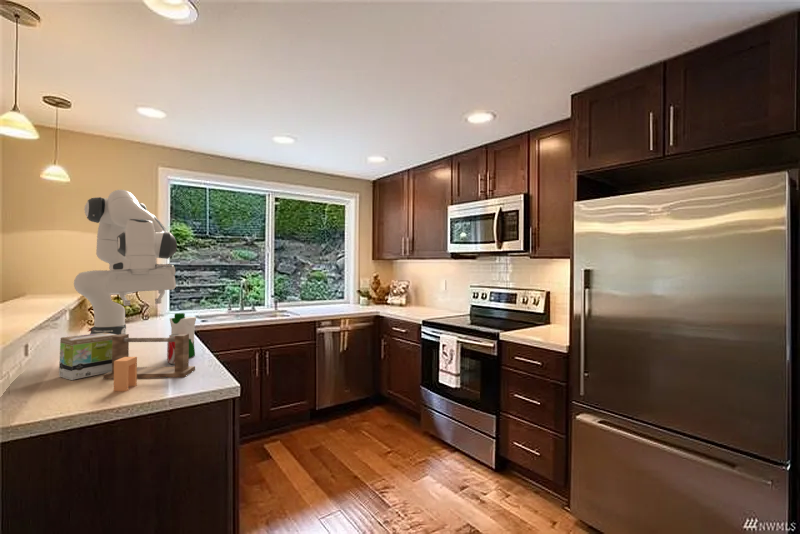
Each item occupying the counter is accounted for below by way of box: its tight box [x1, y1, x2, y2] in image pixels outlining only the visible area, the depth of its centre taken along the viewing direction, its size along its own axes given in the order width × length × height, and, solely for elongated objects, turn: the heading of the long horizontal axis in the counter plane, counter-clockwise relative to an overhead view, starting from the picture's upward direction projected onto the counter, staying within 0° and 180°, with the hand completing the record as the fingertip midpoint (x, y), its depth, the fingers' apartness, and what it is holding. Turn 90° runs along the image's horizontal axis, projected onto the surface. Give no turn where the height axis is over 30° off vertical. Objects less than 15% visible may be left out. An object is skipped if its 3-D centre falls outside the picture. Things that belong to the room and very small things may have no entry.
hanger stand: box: [102, 333, 196, 380], centre depth 148 cm, size 28×10×15 cm, turn 97°
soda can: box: [166, 334, 179, 365], centre depth 166 cm, size 7×7×12 cm
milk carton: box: [169, 312, 197, 358], centre depth 176 cm, size 9×9×20 cm
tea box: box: [58, 333, 116, 381], centre depth 148 cm, size 15×10×15 cm, turn 153°
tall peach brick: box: [113, 356, 138, 392], centre depth 132 cm, size 4×6×10 cm, turn 7°
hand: (142, 304), depth 134 cm, fingers open, 8 cm apart
